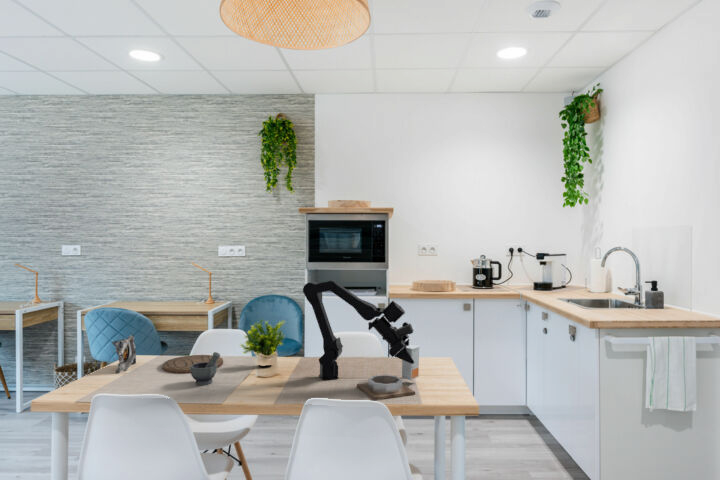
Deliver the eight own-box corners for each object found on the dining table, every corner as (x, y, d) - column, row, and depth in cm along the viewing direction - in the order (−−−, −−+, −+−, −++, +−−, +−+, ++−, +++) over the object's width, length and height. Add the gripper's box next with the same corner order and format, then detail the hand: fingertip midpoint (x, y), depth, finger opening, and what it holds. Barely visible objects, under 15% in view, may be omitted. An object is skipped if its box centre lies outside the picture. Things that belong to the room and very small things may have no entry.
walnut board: (374, 400, 156) (374, 397, 156) (356, 386, 171) (356, 384, 171) (415, 394, 162) (415, 391, 162) (394, 381, 177) (394, 379, 177)
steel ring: (377, 394, 159) (377, 386, 159) (364, 385, 170) (364, 377, 170) (407, 390, 164) (407, 382, 164) (392, 381, 174) (392, 373, 174)
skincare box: (411, 380, 172) (411, 348, 172) (401, 378, 174) (402, 347, 174) (419, 376, 177) (419, 346, 177) (409, 374, 179) (410, 344, 179)
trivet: (215, 356, 217) (215, 352, 217) (229, 369, 195) (229, 364, 195) (158, 363, 204) (158, 359, 204) (167, 377, 182) (167, 372, 182)
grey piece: (126, 364, 201) (126, 334, 201) (136, 364, 201) (136, 334, 201) (111, 374, 186) (112, 342, 186) (122, 373, 186) (123, 341, 187)
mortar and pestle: (185, 386, 170) (185, 354, 170) (197, 379, 179) (197, 348, 179) (214, 387, 169) (214, 355, 169) (224, 380, 178) (224, 349, 178)
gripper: (398, 320, 167) (428, 352, 165) (403, 313, 186) (430, 341, 183) (376, 340, 169) (406, 372, 167) (384, 331, 187) (410, 360, 185)
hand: (414, 360), depth 175 cm, fingers closed on skincare box, 7 cm apart
